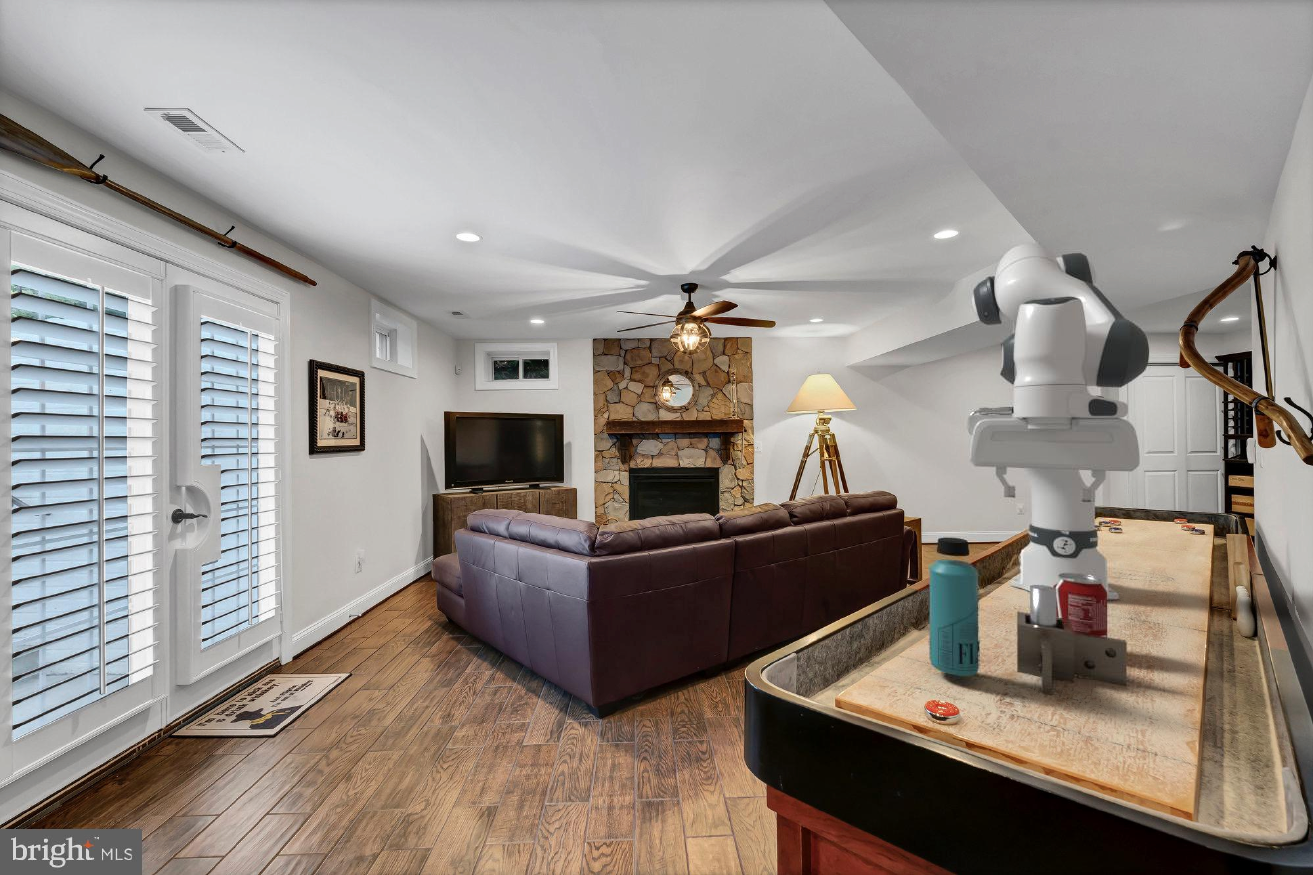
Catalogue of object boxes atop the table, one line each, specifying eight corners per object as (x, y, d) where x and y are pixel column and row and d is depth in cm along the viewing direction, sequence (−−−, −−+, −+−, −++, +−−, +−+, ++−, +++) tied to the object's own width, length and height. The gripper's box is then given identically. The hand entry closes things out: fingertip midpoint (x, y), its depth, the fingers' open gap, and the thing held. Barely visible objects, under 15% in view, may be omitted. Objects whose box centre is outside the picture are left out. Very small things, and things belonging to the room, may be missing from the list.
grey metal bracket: (1017, 655, 85) (1017, 611, 85) (1122, 675, 78) (1122, 627, 78) (1017, 687, 75) (1017, 637, 74) (1138, 713, 68) (1138, 657, 68)
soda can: (1117, 662, 82) (1117, 584, 82) (1067, 659, 84) (1067, 582, 83) (1091, 645, 89) (1091, 572, 89) (1045, 642, 90) (1045, 571, 90)
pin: (1031, 669, 80) (1030, 589, 80) (1030, 661, 83) (1029, 583, 83) (1057, 674, 78) (1057, 592, 78) (1056, 666, 81) (1055, 586, 81)
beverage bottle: (958, 690, 74) (958, 545, 74) (917, 671, 80) (917, 536, 80) (990, 681, 77) (990, 540, 76) (948, 663, 83) (948, 532, 82)
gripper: (966, 407, 83) (965, 496, 84) (1143, 404, 72) (1141, 507, 72) (969, 408, 88) (968, 492, 89) (1134, 405, 77) (1133, 501, 77)
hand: (1047, 499), depth 80 cm, fingers open, 8 cm apart
